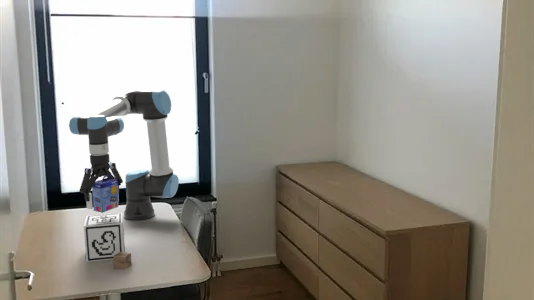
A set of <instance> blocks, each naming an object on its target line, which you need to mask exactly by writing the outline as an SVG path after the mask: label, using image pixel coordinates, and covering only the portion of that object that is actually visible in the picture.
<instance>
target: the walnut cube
mask: <svg viewBox="0 0 534 300" xmlns="http://www.w3.org/2000/svg"><path fill="white" fill-rule="evenodd" d="M112 260H113V263H112V264H113V269H118V270H126V269H128V268H129V267H130V266H132V253H131V252H127V251H125V252H119V253H117V254H116V255H114V256H113V259H112Z"/></svg>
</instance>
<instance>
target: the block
mask: <svg viewBox="0 0 534 300" xmlns="http://www.w3.org/2000/svg"><path fill="white" fill-rule="evenodd" d="M83 232H84V245H85V246H84V247H85V260H86V263H89V262H99V261H109V260H111V261H112V260H113V256H114V255H116V254H117V253H119V252H126V245H125V228H124V213H123V212H117V213H106V214H105V213H104V214H103V213H102V214H93V215H86V216H85V219H84V223H83Z"/></svg>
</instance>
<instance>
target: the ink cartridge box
mask: <svg viewBox="0 0 534 300" xmlns="http://www.w3.org/2000/svg"><path fill="white" fill-rule="evenodd" d="M109 177H110V176H109V175H107V176H102V179H99V180H98V179H97V180H96V181H95V183H94V185H93V187H92V189H91V191H92V192H91V193H92V206H93V211H94V212H98V213H101V214H103V213H105V212H108V211H111V210H114V209H116V208H119V201H118V194H119V193H118V185H117V179H109Z"/></svg>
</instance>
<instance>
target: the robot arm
mask: <svg viewBox="0 0 534 300" xmlns="http://www.w3.org/2000/svg"><path fill="white" fill-rule="evenodd" d="M170 97H171V96H170V95H169V93H168V92H167V91H165V90H164V89H133V90H128V91H126V92H124V93H121V94H119V95H117V96H115V97H114V98H113V100H112V101H110V102H108V103H107V104H105V105H102V106H100V107H99V108H97V109H95V110H93V111H91V112H89V113H87V114H85V115H83V116H73V117H71V119H70V120H69V123H68V128H69V131H70V132H71V134H73V135H79V136H82V135H83V136H88V137H87V138H88V150H89V151H88V152H89V154H90V155H89V159H90V160H89V162H90V165H91V166H90V168H88V167H86V168H84V174H83V178H82V181H81V184H80V187H79V192H80V193H81V194H84V201H85V202H86V209H88V210H94V208H93V193H92V192H91V191H92V187H93V185H94V183H95V181H98V179H99V178H101V177H102V178H103V177H104V176H107V175H109V176H110V177H109V179H117V185H118V202H120V199H119V197H120V196H119V193H120V186H121V185H122V184H123V182H124V181H123V178H122V177H121V175H120V172H119V171H118V169H117V166H116V165H117V164H116V162H110V154H109V153H110V149H109V137H111V136H116V135H118V134H120V133H122V132H123V130H124V128H125V124H124V123H125V122H124V121H123V119H122V118H121V117H124V116H127V115H132V114H133V115H134V114H135V115H137V114H138V115H142V119H143V120H144V121H145V122H146V126H147V136H148V146H149V156H150V163H151V165H150V166H151V169H150V171H149V169H138V170H134V171H129V172H128V173H126V174H125V182H124V183H125V192H126V194H125V195H126V204H125V209H124V213H123V218H124V219H127V220H131V221H132V220H133V221H140V220H147V219H150V218H153V217H154V216H155V209H154V206H153V204H152V200H151V198H160V199H167V198H173V197H174V196H175V195H176V193H177V191H178V188H179V181H180V180H179V177H178V175H177V174H175V173H174V169H173V168H172V167H170V161H169V160H170V158H169V150H168V137H167V129H166V119H168V115H169V114H170V113H171V110H172V99H171V98H170ZM109 169H110V170H109Z"/></svg>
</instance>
